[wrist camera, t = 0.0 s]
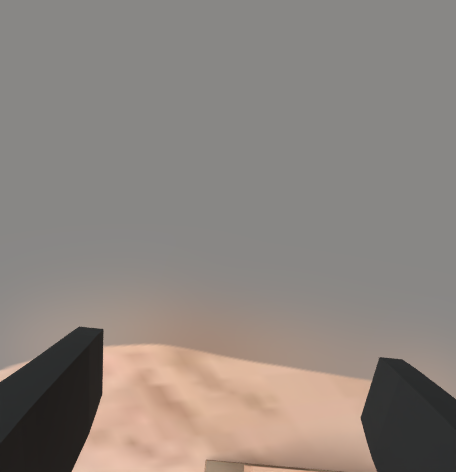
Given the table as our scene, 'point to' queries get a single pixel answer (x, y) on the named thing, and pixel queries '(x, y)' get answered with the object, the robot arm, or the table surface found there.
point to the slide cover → (270, 469)
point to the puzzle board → (235, 471)
